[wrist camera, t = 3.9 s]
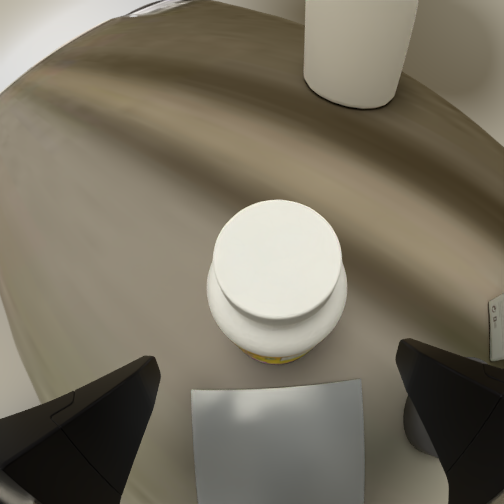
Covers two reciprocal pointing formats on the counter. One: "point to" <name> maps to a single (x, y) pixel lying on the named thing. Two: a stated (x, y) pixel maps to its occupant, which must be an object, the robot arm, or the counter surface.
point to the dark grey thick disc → (419, 426)
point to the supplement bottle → (277, 280)
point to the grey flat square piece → (280, 444)
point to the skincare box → (496, 328)
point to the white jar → (357, 49)
